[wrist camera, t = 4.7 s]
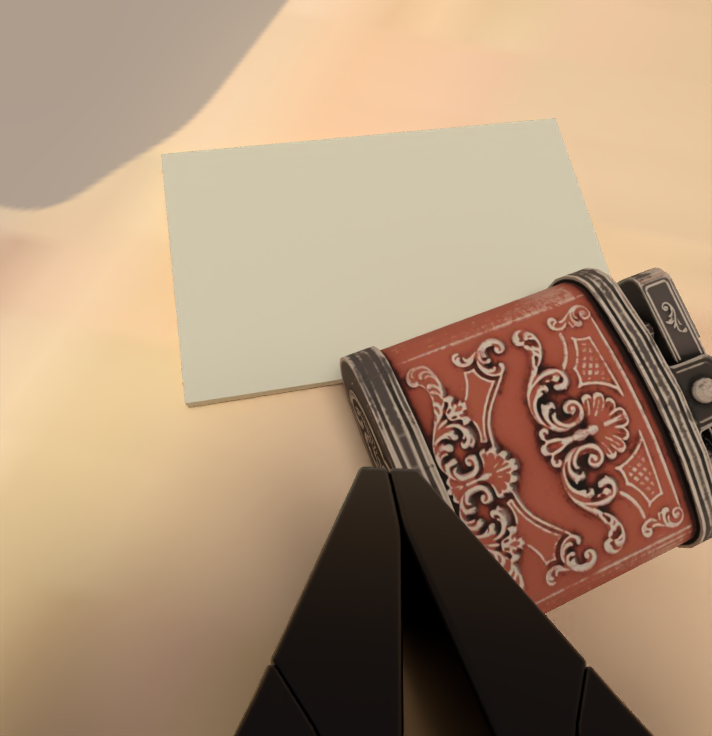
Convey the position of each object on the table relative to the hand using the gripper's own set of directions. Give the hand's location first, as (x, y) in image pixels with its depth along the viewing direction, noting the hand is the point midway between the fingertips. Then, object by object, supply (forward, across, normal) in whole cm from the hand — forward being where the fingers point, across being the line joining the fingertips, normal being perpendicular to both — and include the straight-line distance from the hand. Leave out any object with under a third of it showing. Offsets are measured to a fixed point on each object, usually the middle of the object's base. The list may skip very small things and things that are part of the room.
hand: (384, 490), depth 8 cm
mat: (+11, -1, -1) cm, 11 cm away
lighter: (+4, -1, +4) cm, 6 cm away
